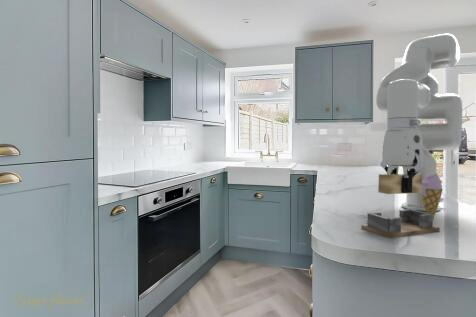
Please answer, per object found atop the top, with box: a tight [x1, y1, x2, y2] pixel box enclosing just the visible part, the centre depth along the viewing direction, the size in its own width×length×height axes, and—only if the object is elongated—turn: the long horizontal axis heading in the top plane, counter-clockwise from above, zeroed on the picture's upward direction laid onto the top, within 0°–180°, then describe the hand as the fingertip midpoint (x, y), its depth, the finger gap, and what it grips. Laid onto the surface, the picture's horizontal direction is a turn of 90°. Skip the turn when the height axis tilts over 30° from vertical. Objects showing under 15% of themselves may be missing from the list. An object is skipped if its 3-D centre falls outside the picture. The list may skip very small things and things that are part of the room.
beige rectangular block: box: [377, 173, 422, 195], centre depth 86 cm, size 12×4×5 cm, turn 110°
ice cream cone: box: [421, 172, 443, 219], centre depth 98 cm, size 7×6×15 cm
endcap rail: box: [360, 208, 441, 239], centre depth 87 cm, size 18×10×4 cm, turn 110°
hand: (400, 190), depth 86 cm, fingers closed on beige rectangular block, 3 cm apart
